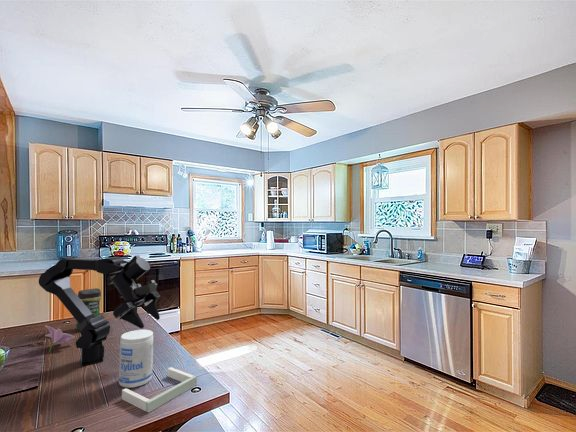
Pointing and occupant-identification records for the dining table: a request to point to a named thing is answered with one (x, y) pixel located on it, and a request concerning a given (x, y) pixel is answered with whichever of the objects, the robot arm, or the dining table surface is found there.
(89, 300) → the coffee jar
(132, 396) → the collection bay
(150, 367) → the supplement tub
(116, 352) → the dining table surface
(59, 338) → the lily
